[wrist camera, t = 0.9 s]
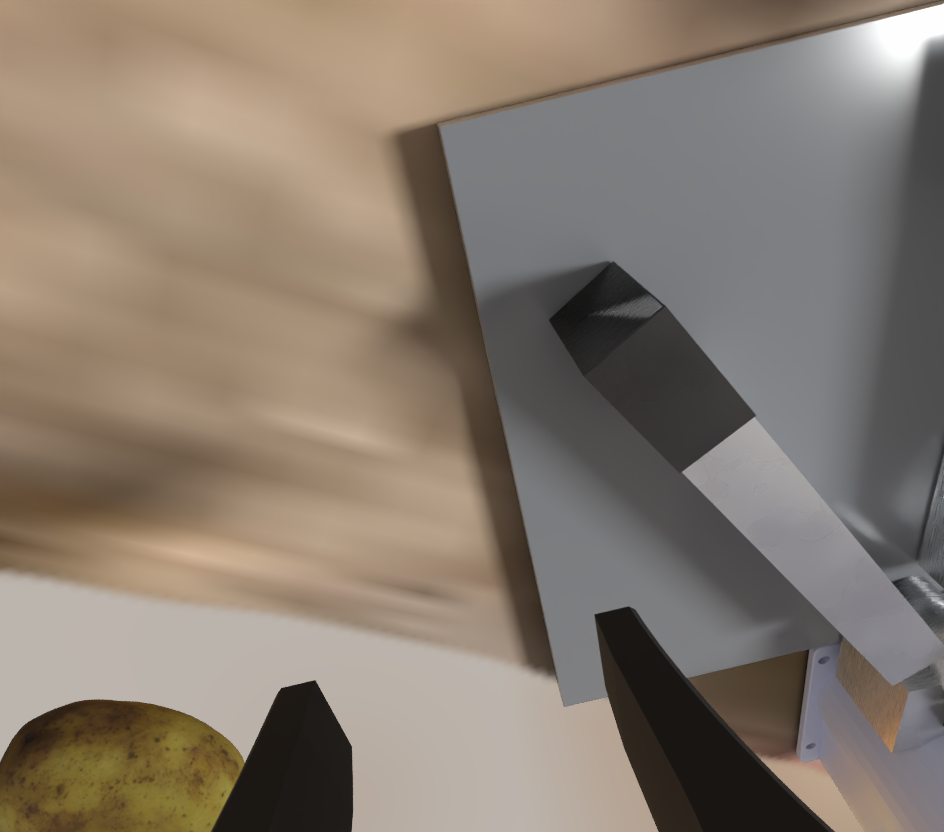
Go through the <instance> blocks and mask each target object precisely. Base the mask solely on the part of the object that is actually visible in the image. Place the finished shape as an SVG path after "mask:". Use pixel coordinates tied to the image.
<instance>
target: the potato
mask: <svg viewBox="0 0 944 832" xmlns="http://www.w3.org/2000/svg"><path fill="white" fill-rule="evenodd" d="M244 764H245V763H244V760H243V758H242V756H241V754H240V753H239V751H238V750H237V749H236V747H235V746H234V745H233V744H232V743H231V742H230V741H229V740H228V739H226V738H225V737H224V736H223V735H222V734H220V733H219V732H217V731H216V730H214V729H213V728H211V727H210V726H209V725H207V724H206V723H204V722H202V721H200V720H198V719H196V718H194V717H192V716H190V715H187V714H185V713H182V712H179V711H176V710H172V709H169V708H165V707H162V706H158V705H154V704H147V703H141V702H130V701H113V700H84V701H78V702H74V703H71V704H68V705H65V706H62V707H59V708H57V709H54V710H51V711H49V712H47V713H45V714H43V715H41V716H39V717H37V718H35V719H33V720H31V721H29V722H28V723H27V724H25V725H24V726H23V727H22V728H21V729H20V730H19V731H18V733H17V734H16V735H15V736H14V738H13V739H12V741H11V743H10V744H9V746H8V748H7V750H6V752H5V754H4V756H3V758H2V760H1V762H0V832H211V830H212V828H213V826H214V824H215V822H216V820H217V818H218V816H219V815H220V813H221V811H222V809H223V807H224V805H225V803H226V801H227V799H228V797H229V795H230V793H231V791H232V789H233V787H234V785H235V783H236V781H237V779H238V777H239V775H240V772H241V770H242V768H243V766H244Z"/></svg>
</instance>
